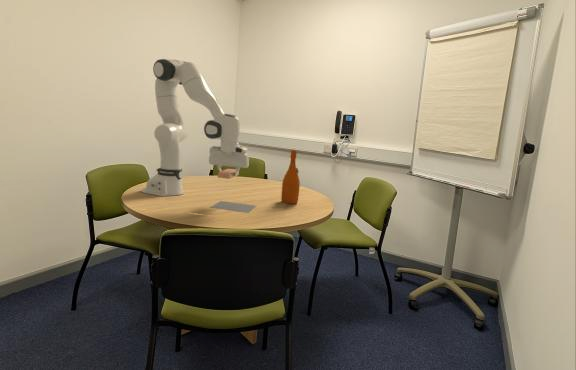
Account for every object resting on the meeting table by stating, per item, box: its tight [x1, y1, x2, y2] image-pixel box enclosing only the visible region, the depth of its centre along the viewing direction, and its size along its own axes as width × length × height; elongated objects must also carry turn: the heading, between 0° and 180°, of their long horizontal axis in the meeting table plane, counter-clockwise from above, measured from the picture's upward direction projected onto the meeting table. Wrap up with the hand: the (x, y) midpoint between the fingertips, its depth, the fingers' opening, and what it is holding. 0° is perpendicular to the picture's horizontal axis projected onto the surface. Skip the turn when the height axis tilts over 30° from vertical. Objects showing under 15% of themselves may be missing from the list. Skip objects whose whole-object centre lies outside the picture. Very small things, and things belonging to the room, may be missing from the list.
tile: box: [217, 168, 240, 180], centre depth 178 cm, size 6×2×14 cm
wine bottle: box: [280, 149, 301, 205], centre depth 199 cm, size 10×10×30 cm
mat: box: [209, 200, 257, 214], centre depth 180 cm, size 20×15×1 cm
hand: (228, 175), depth 177 cm, fingers closed on tile, 6 cm apart
